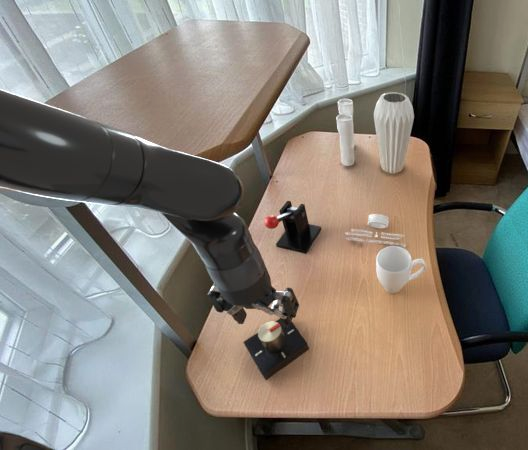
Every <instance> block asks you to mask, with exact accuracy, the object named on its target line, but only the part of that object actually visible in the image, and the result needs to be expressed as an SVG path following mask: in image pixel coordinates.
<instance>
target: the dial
mask: <svg viewBox="0 0 528 450" xmlns="http://www.w3.org/2000/svg"><path fill="white" fill-rule="evenodd" d="M275 321H276V320H270V321H267V322H265V323H263V324H262V325H261V326H260V327H259V329H258V332H257V333H258V337H259V339H260V340H261V342H262V344H263V346H264V347H265V349H266V350H267V351H268V352H272V353H274V352H278V351H280V350H281V349H282V348H283V347H284V346H285V343H286V337H285V335H284V333H283V330H282V328H281V326H280V324H279V323H278V322H275Z"/></svg>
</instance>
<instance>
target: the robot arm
mask: <svg viewBox="0 0 528 450" xmlns="http://www.w3.org/2000/svg"><path fill="white" fill-rule="evenodd" d="M0 188H1V189H6V190H11V191H15V192H19V193H24V194H28V195H33V196H38V197H43V198H50V199H56V200H62V201H69V202H70V201H71V202H79V203H87V204H95V205H101V206H102V205H103V206H110V207H111V206H112V207H124V208H136V209H142V210H148V211H153V212H157V213H160V214H161V215H162V216H163V217H164V218H165V219H166V220H167V222H169V223H170V224H171V225H172V226H173V227H174V228H175V230H176V231H178V232H179V233H181V235H182V236H184V237H185V238H186V239H187V240H188V241H189V242H190V243H191V244H192V245H193V248H194V249H195V252H196V253H197V254H198V256H199V258H200V259H201V260H202V262H203V265H204V266H205V269H206V271H207V273H208V276H209V278H210V279H211V281H212V282H213V283H212V286H211V288H210V290H209V291H208V293H207V298H208V299H209V301H210V303H211V304H212V306H213V308H214V310H215V311H216V312H217V313H221V314H222V313H223V312H226V314H227V315H229V316H231V317H232V319H233V320H234V321H235V322H237V324H238V325H243V324H245V322H246V319H247V316H248V314H247V312H246V310H258V311H262V312H264V313H265V314H267V315H269V316H273V315H275V316H276V317H278V318H279V319H280V321H281V323H282V325H283V327H288V325H290V324H291V321H292V322H293V319H295V318H296V317H297V313H298V310H299V308H300V302H299V300H298V298H297V296H296V294H295V292H294V290H293V288H291V287H285V290H284V291H281V290H279V291H277V289H276V288H275V287H273V286H272V279H271V276H270V272H269V270H268V268H267V266H266V263H265V261H264V258H263V256H262V254H261V252H260V250H259V248H258V247H257V244H255V242H254V240H253V236H252V234H251V232H250V229H249V228H248V225H247V223H246V222H245V220H244V219H243V217H242V216H240V215H239V214H238V213H236V212H237V211H238V210H239V209H240V207H241V205H243V202H244V197H245V189H244V183H243V181H242V179H241V177H240V176H239V175H238V174H237V172H236V171H235V170H234V169H232V168H231V167H229V166H228V165H225V164H224V163H221V162H217V161H214V160H212V159H211V160H210V159H207V158H204V157H200V156H196V155H192V154H189V153H185V152H183V151H178V150H174V149H171V148H169V147H164V146H161V145H159V144H157V143H154V142H152V141H150V140H147V139H146V138H143V137H140V136H139V135H135V134H133V133H131V132H128V131H125V130H122V129H119V128H117V127H113V126H110V125H108V124H105V123H102V122H100V121H96V120H93V119H90V118H88V117H84V116H82V115H79V114H75V113H73V112H69V111H67V110H63V109H62V108H57V107H55V106H52V105H49V104H46V103H43V102H39V101H37V100H34V99H31V98H28V97H25V96H23V95H19V94H16V93H13V92H10V91H7V90H4V89H2V88H0ZM270 306H271V307H270ZM279 308H281V310H280V309H279ZM245 309H246V310H245ZM0 450H57V449H56V448H54V447H51V446H50V445H49V446H48V445H46V444H44V443H42V442H39V441H37V440H34V439H32V438H30V437H27V436H25V435H23V434H20V433H16V432H13V431H9V430H5V429H4V430H3V429H0Z"/></svg>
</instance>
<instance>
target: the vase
mask: <svg viewBox="0 0 528 450" xmlns="http://www.w3.org/2000/svg"><path fill="white" fill-rule="evenodd" d="M414 119H415V113H414V108H413V104H412V102H411V100H410V97H409V96H408V95H407V94H405V93H401V92H397V91H394V92H393V91H390V92H386V93H383V94H381V95H380V97H379V98H378V100H377V102H376V104H375V107H374V111H373V122H374V127H375V135H376V141H377V147H378V155H379V162H380V167H381V169H382V171H384V172H385V173H387V174H398V173H400V172H401V171H403V169H404V166H405V161H406V157H407V153H408V148H409V143H410V138H411V133H412V129H413V124H414Z"/></svg>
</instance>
